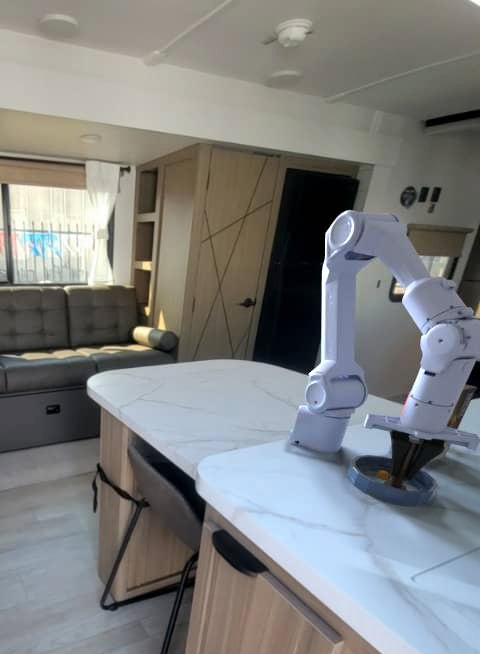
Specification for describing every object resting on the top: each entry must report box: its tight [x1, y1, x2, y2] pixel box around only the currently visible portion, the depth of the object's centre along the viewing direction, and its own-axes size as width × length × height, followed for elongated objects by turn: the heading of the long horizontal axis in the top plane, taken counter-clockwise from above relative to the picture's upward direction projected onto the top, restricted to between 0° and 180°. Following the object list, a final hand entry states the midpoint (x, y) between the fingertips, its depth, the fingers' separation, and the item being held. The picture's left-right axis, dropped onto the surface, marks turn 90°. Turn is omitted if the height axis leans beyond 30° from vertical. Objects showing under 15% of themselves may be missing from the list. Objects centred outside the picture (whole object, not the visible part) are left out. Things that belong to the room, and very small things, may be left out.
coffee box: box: [387, 384, 478, 464], centre depth 78 cm, size 9×6×16 cm
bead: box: [375, 470, 390, 480], centre depth 73 cm, size 2×2×2 cm
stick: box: [383, 439, 420, 490], centre depth 67 cm, size 3×3×9 cm
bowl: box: [346, 454, 439, 508], centre depth 70 cm, size 12×12×4 cm
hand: (400, 475), depth 68 cm, fingers closed on stick
